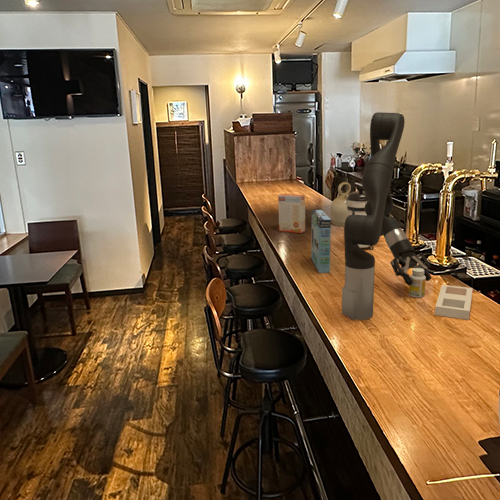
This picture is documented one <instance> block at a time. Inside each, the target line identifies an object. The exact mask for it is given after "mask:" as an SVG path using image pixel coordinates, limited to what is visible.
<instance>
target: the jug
mask: <svg viewBox="0 0 500 500" xmlns="http://www.w3.org/2000/svg"><path fill="white" fill-rule="evenodd" d="M344 185H346V186H347V189H346V191H345V192H342V187H343V186H344ZM351 187H352V186H351V184H350V183H349V182H347V181H343V182H341V183H339V185H338V187H337V192H338V193H337V197H336V198H334V199H333V200H332V202H331V204H330V214H331V222H332V224H333V226H337V227H344V224H345V220H346V218H347V214H348V209H347V205H348V204H344V203H345V201H346V199H347V197H348V195H349V194H350V193H351V190H352V189H351Z"/></svg>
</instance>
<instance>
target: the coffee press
mask: <svg viewBox="0 0 500 500" xmlns="http://www.w3.org/2000/svg"><path fill="white" fill-rule="evenodd" d="M348 194H349V195H348V197H347V199H346V201H345V203H344V204H348V205H347V209H348V214H347V217H348V216H349V215H366V212H365V204H366V202H368V201H369V199H368V197H367V195H366V193H365V191H364V189H363V187H362V185H361V186H359V187H358V190H357V191H352V192H351V191H350V192H349V193H348ZM385 216H386V217H388V215H385ZM382 236H383V234H382V232H381V235H380V238H381V237H382ZM358 246H359V247H360V248H361V249H362V248H368V249H369V250H370V251H373V250H374V249H375V248H374V245H373V246H370V245H358Z"/></svg>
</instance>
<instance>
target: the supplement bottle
mask: <svg viewBox="0 0 500 500" xmlns="http://www.w3.org/2000/svg"><path fill="white" fill-rule="evenodd" d="M421 268H422V267H421ZM421 268H411V269H412V271H411V273H412V274H411V275H410V274H409V276H410V278H411V280H412V281H413V284H411V285H409V287H408V295H409V296H410V297H412V298H420V299H421V298H423V297H424V296H425V295H426V294H425V292H426V282H427V281H426V277H425V276H424V269H421Z"/></svg>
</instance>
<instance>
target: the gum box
mask: <svg viewBox="0 0 500 500" xmlns="http://www.w3.org/2000/svg"><path fill="white" fill-rule="evenodd" d="M331 224H332V218H330V217H329V216H328V215H327V214H326V213H325V211H323V210H322V209H315V210H311V241H310V242H311V248H310V249H311V251H310V252H311V260H312V263H313V265H314V266H315V268H316V270H317V272H318V273H319V274H327V273H328V274H329V273H330V272H331V233H332V232H331V230H332V229H331V227H332V225H331Z"/></svg>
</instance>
